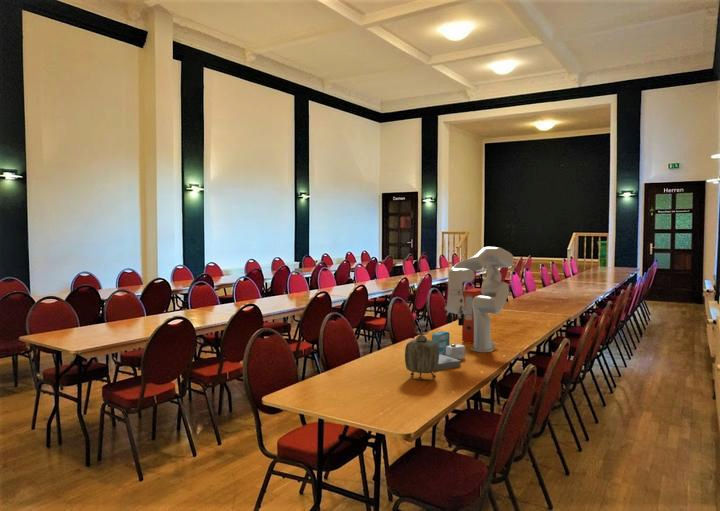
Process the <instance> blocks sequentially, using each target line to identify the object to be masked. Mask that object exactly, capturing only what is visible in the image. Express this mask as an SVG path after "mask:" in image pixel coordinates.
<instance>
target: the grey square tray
mask: <svg viewBox="0 0 720 511" xmlns="http://www.w3.org/2000/svg"><path fill="white" fill-rule="evenodd" d="M460 367H461V359H460V360H457V359H454V358H451V357H448V356H446V354H444V355H442V354H440V355H439V362H438V366H437V368H436V369H435V370H434V371H436V370H437V371H441V370H447V369H448V368H449V369H454V368H460Z"/></svg>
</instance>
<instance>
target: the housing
mask: <svg viewBox="0 0 720 511" xmlns="http://www.w3.org/2000/svg"><path fill="white" fill-rule="evenodd" d="M445 356H448V357H451V358H454V359H460V360H465V359H466V345H462V344H456V343H452V344H451V343H450V345H449V346H446V354H445ZM464 358H465V359H464Z"/></svg>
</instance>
